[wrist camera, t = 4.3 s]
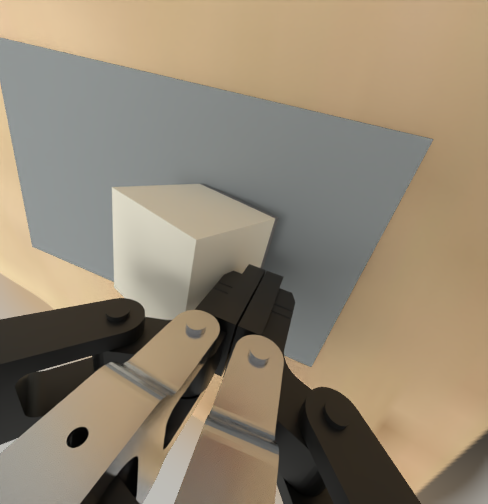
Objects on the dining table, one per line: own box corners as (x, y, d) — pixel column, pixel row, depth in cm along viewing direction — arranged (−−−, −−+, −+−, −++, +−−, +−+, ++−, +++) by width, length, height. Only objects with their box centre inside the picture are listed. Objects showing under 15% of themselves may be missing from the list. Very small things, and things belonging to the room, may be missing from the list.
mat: (430, 139, 10) (433, 139, 10) (311, 363, 16) (311, 366, 16) (-3, 37, 14) (-9, 35, 14) (36, 245, 21) (32, 246, 20)
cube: (278, 217, 11) (196, 239, 7) (252, 301, 13) (179, 352, 10) (203, 183, 13) (111, 187, 10) (192, 260, 16) (114, 287, 12)
